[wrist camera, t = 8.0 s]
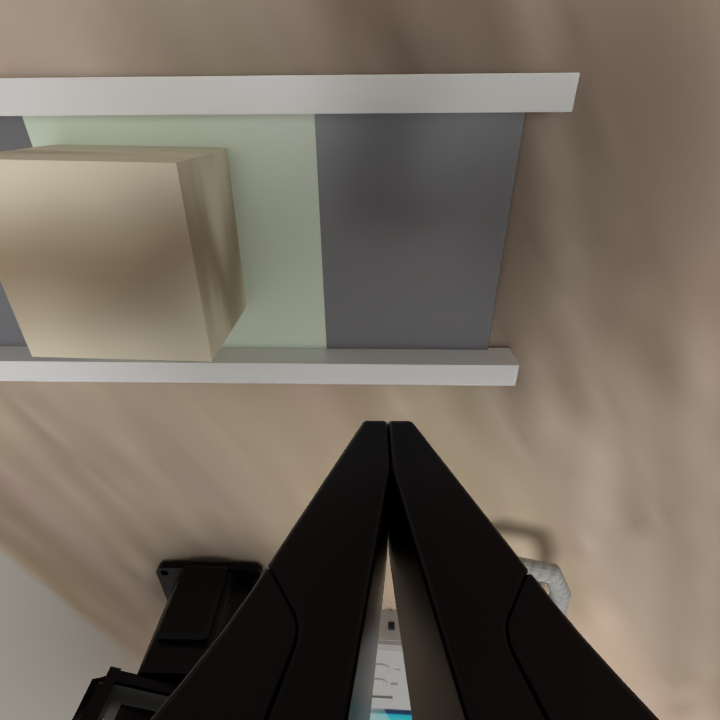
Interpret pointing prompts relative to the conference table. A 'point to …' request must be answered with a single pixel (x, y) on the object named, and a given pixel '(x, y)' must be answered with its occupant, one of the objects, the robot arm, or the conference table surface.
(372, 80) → the trap lane
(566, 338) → the conference table surface
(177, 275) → the birch block
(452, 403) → the conference table surface
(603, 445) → the conference table surface
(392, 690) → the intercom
